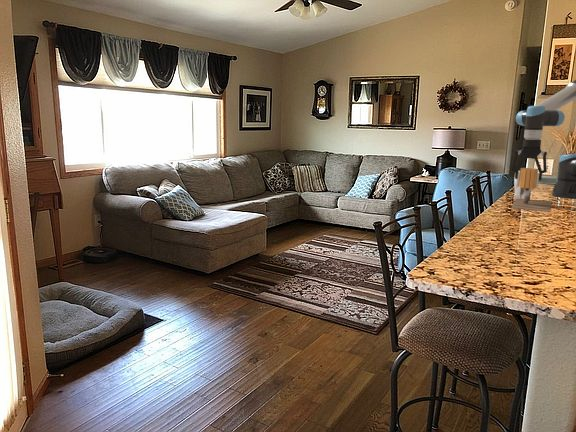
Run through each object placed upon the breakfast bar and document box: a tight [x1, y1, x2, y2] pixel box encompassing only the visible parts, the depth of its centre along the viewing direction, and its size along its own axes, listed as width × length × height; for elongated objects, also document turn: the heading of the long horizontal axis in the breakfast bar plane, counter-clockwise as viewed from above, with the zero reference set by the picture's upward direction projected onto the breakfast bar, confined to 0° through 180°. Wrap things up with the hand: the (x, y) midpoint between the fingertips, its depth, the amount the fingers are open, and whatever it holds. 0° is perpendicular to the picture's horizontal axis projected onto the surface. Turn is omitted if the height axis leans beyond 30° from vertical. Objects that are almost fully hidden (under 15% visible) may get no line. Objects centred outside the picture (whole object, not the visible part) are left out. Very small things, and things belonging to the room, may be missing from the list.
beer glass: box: [513, 170, 525, 200], centre depth 240 cm, size 7×7×15 cm
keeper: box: [538, 176, 557, 184], centre depth 227 cm, size 14×3×2 cm, turn 59°
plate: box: [510, 199, 553, 213], centre depth 220 cm, size 30×16×2 cm, turn 149°
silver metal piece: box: [523, 188, 532, 203], centre depth 227 cm, size 11×2×9 cm, turn 149°
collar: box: [518, 167, 539, 189], centre depth 221 cm, size 8×8×9 cm
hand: (527, 186), depth 222 cm, fingers closed on collar, 8 cm apart
